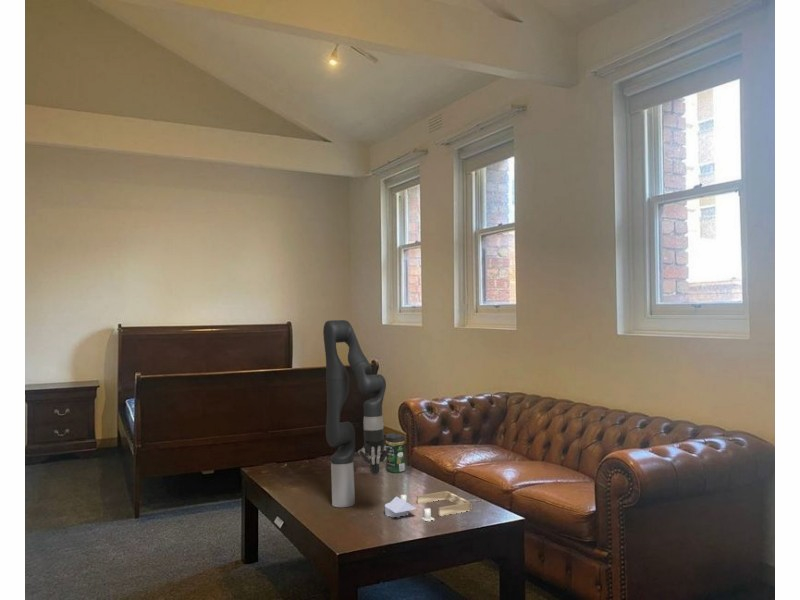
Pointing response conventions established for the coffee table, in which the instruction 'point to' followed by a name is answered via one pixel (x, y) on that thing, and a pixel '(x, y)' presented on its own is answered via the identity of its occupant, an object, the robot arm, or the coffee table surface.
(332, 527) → the coffee table surface
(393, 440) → the coffee jar
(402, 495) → the clip gate
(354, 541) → the coffee table surface
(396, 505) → the wedge on round base
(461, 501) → the frame
